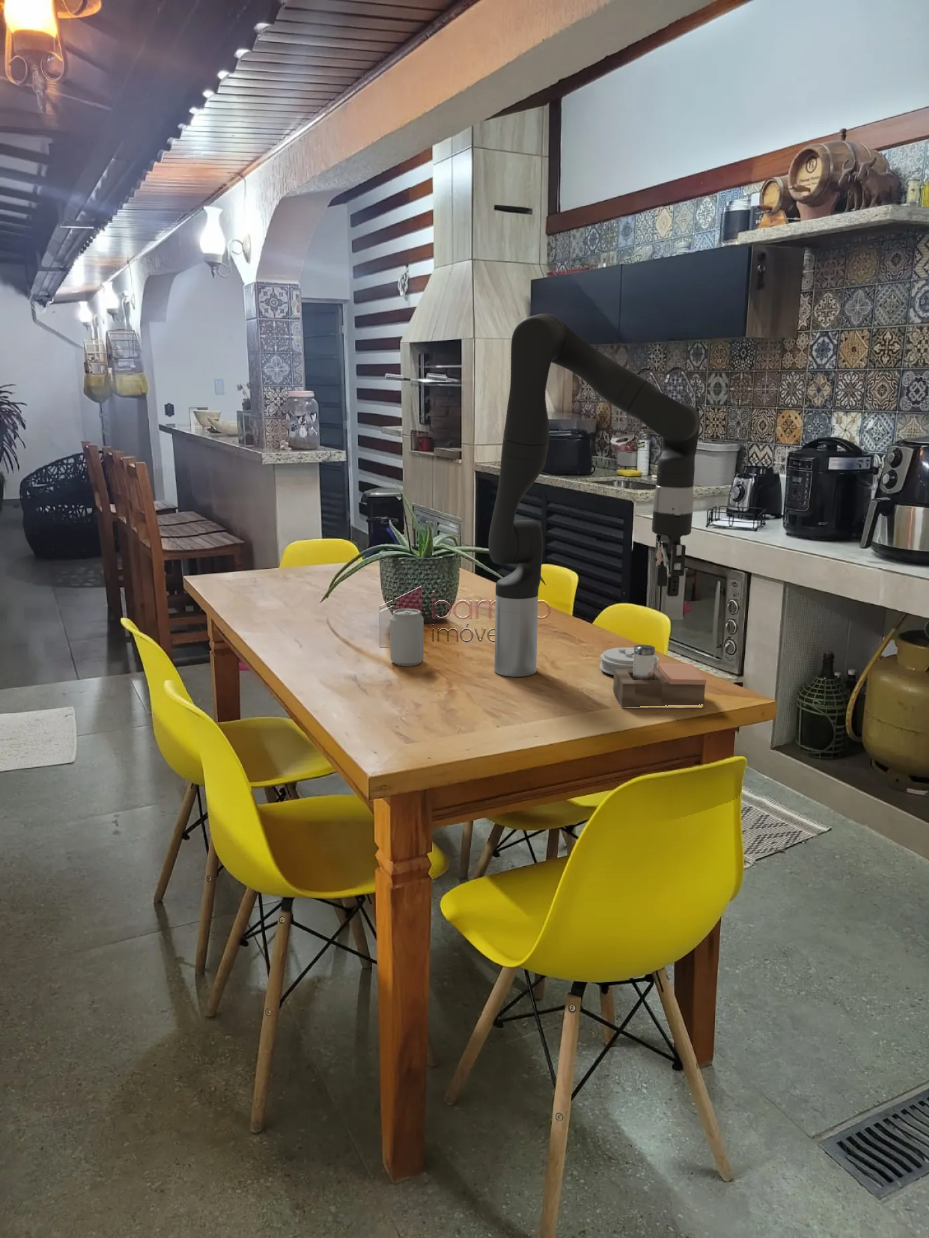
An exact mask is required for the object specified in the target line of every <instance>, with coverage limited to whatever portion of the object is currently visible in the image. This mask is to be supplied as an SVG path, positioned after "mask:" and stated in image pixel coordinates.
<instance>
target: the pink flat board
mask: <svg viewBox="0 0 929 1238" xmlns="http://www.w3.org/2000/svg"><path fill="white" fill-rule="evenodd" d="M657 668H658V669H659V670H660V672H661V673H662V674H663V676H664V677H665V678H666V680H667V681H668V682H669V684H694V685H705V686H706V685H707V679H706V678H705V677H704V675H702V673H701V672H700V671H699V670H698V669H697V668H696V666H694V665H693V663H665V662H664V663H661V662H660V663H658V662H657Z"/></svg>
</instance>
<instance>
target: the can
mask: <svg viewBox="0 0 929 1238" xmlns="http://www.w3.org/2000/svg"><path fill="white" fill-rule="evenodd" d="M392 614H393V615H391V616H390V618H389V625H390V626H389V632H390V634H389V635H390V638H389V639H390V640H389V641H390V642H389V643H390V649H389V650H390V651H389V652H390V660H391V661H392V662H393V664H394V663H395V664H394V665H396V664H397V666H400V665H401V666H402V667H413V665H414V666H417V665H419V664H420V663H421V662H422V661H423V660H424V658H425V657H424V648H425V647H424V643H425V642H424V638H425V637H424V634H425V633H424V631H425V630H424V628H425V627H424V626H425V625H424V617H423V616H422V615H421V610H419V609H415V608H398V609H395V610H393V611H392ZM401 666H400V667H401Z"/></svg>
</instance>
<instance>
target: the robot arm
mask: <svg viewBox="0 0 929 1238" xmlns="http://www.w3.org/2000/svg"><path fill="white" fill-rule="evenodd" d="M551 364H555V365H557V366H560V367H562V368H564V369H567V370H568V371H570V372H573V374H575V375H577V376H578V377H579V378H581V379H582V380H583V381H584V382H586V383H587V385H589V387H591V388H592V389H593V391H595V392H596V393H597V394H598V395H599V396H600V397H601V398H603V400H605V401H606V402H608V403H610V404H611V405H612V406H614V407H616V408H618V409H619V410H621V411H623V412H624V413H625V414H628V415H629V416H631V417H633V418H635V419H637V420H639V421H640V422H641V423H642V424H643V425H645V426H646V427H648V428H649V429H650V430H652V431H653V432H654V433H656V434H658V435H659V436H660V437H661V438H662V443H661V454H660V457H659V459H658V463H657V468H656V469H657V471H656V484H655V490H654V496H653V506H652V507H653V508H652V521H651V522H652V523H651V524H652V525H651V532H652V534H655V551H654V559H653V560H654V563H655V566H656V568H657V569H656V584H655V585H656V586H657V587H666V593H665V594H666V596H668V597H677V596H679V591H680V590H679V589H680V578H682V577H684V576H685V566H686V564H685V563H686V550H687V546H686V544H682V539H681V538H682V537H686V536H689V535H690V534H691V533H692V526H693V512H694V511H693V510H694V499H695V498H694V482H695V481H694V480H695V471H696V470H695V468H696V466H695V463H696V462H695V461H696V454H697V453H696V452H697V448H698V442H699V436H700V427H701V426H700V425H701V419H700V415H699V412H698V410H697V409H696V408H695V407H694V406H693V405H691V404H688V403H686V402H685V403H684V402H683V403H681V402H680V401H677V400H675V399H674V398H672V397H670V396H668V394H665V393H663V392H661V390H660V389H658V387H657V386H656V385H654V384H653V383H652V382H650V381H648V380H646V379H645V378H643V377H641V376H640V375H639V374H637V373H635V372H633V371H631V370H629V369H628V368H626V367H625V366H623V365H621V364H619V363H618V362H616V361H615V360H613V359H611V358H610V357H608V356H607V355H605V354H604V353H602V352H601V351H599V350H598V349H596V348H595V347H594V346H592V345H591V344H590V343H588V342H587V341H586V340H584V339H583V338H582V337H581V336H579V334H577V333H576V332H575V331H574V330H572V329H571V328H570V326H568V325H567V324H566V323H564V322H563V321H562V320H561V319H559V318H558V317H557V316H556V315H554V314H550V313H539V314H537V313H536V314H535V315H531V316H529V317H526V318H523V319H522V320H521V321H519V322H518V324H517V325H516V326H515V328H514V330H513V332H512V336H511V341H510V384H509V394H508V400H507V406H506V407H507V408H506V415H505V416H506V417H505V423H504V430H503V438H502V445H501V454H500V455H501V456H500V467H499V477H498V478H499V479H498V485H497V486H498V487H497V491H496V498H495V502H494V508H493V512H492V518H491V522H490V528H489V533H488V553H489V558H490V559H491V561H492V562H493V563H495V564H497V565H517V567H516V568H515V569H514V571H512V572H511V573H510V574H508V575H506V576H504V577H501V578H500V579H498V580H497V581H496V583H495V598H494V599H495V603H494V605H495V611H494V612H495V613H494V615H495V616H494V617H495V618H494V619H495V620H494V663H493V664H494V672H495V673H496V674H498V675H500V676H505V677H512V678H513V677H518V678H519V677H528V676H532V675H535V674H536V673H537V659H538V658H537V656H538V655H537V654H538V623H539V622H538V620H539V619H538V617H539V616H538V613H539V589H540V588H539V587H540V585H541V580H542V578H541V577H542V565H543V554H544V537H543V536H544V535H543V530H542V527H541V526H540V524H539V523H538V522H537V521H536V520H534V519H520V520H519V519H518V520H517V519H516V520H515V517H516V513H517V511H518V508H519V505H520V503H521V502H522V500H523V498H524V496H525V495H526V493H527V492H528V491H529V489H530V488H531V487H532V486H533V484H534V483H535V481H536V480H537V479H538V478H539V476H540V475H541V473H542V471H543V469H544V467H545V466H546V461H547V456H548V448H549V442H550V440H549V439H550V421H549V414H548V408H547V403H546V401H547V400H546V399H547V398H546V393H547V391H546V390H547V384H548V378H549V373H550V368H551ZM675 568H676V569H675Z"/></svg>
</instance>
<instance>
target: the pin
mask: <svg viewBox="0 0 929 1238" xmlns="http://www.w3.org/2000/svg"><path fill="white" fill-rule="evenodd" d="M633 648H634V662H633V680H653V672H654V654H656V653H655V652H656V651H655V650H656V647H655V646H653V645H649V644H636V645H634V646H633Z"/></svg>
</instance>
